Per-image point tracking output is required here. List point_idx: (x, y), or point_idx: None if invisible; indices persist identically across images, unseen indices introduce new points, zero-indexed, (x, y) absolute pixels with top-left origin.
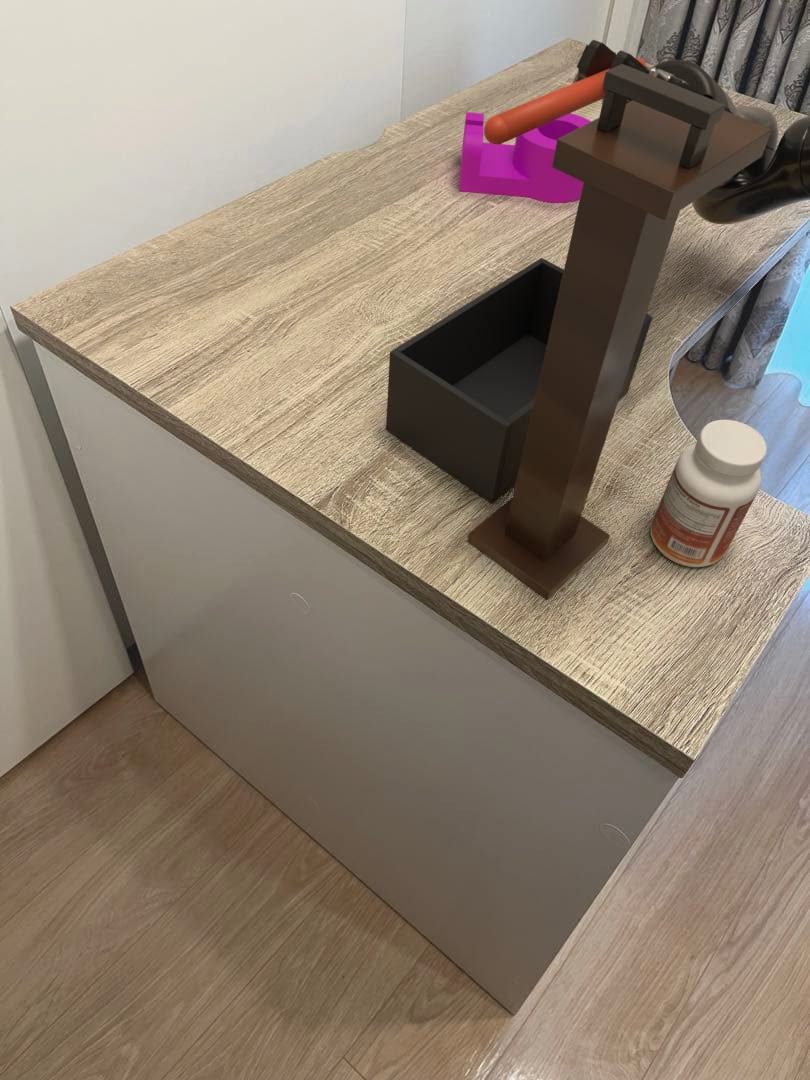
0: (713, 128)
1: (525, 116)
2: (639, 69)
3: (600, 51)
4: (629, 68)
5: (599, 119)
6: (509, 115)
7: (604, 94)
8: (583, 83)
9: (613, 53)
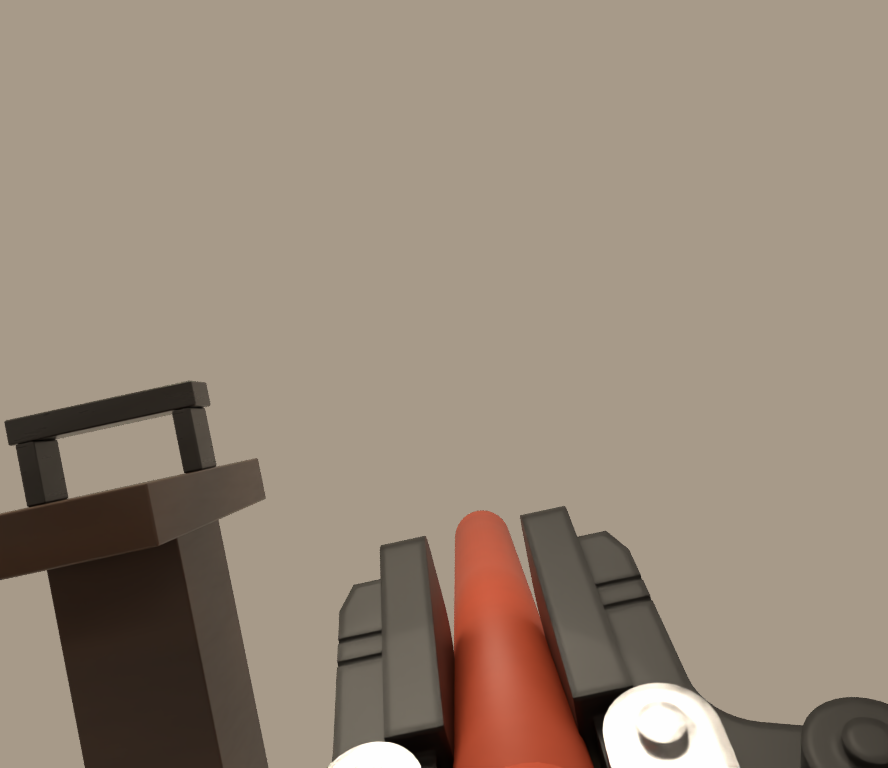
0: (18, 456)
1: (458, 536)
2: (341, 624)
3: (528, 550)
4: (174, 384)
5: (212, 451)
6: (470, 518)
7: (205, 414)
8: (482, 589)
9: (549, 618)
